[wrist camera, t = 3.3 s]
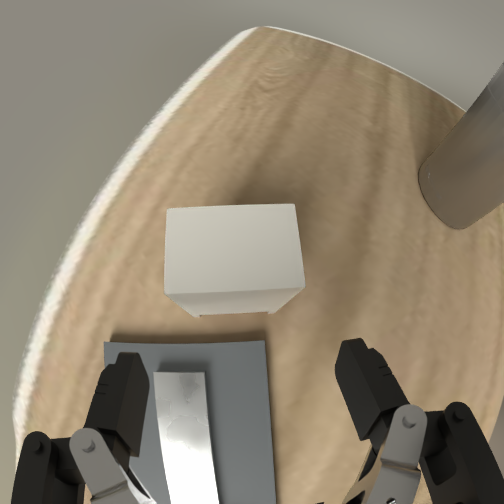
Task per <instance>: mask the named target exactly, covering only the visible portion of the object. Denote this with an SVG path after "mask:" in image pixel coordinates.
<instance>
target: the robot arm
mask: <svg viewBox="0 0 504 504" xmlns="http://www.w3.org/2000/svg"><path fill="white" fill-rule="evenodd" d="M419 183H420V187H421V191H422V193H423V195H424V198H425V199H426V201H427V203H428V205H429V206H430V208H431V209H432V210H433V212H434V213H435V214H436V215H437V216H438V217H439V218H440V219H441V220H442V221H443V222H444V223H446V224H447V225H449V226H451V227H452V228H456V229H465V228H467V227H469V226H470V225H472V224H473V223H475V222H476V221H478V220H479V219H481V218H482V217H484V216H485V215H486V214H488V213H490V212H491V211H492V210H494V209H495V208H497V207H498V206H499V205H501V204H502V203H504V63H502V65H501V66H500V68H499V69H498V71H497V72H496V74H495V75H494V76H493V78H492V79H491V81H490V82H489V83H488V85H487V86H486V87H485V89H484V90H483V91H482V93H481V94H480V96H479V97H478V98H477V99H476V101H475V102H474V103H473V105H472V106H471V107H470V108H469V109H468V111H467V112H466V113H465V115H464V116H463V117H462V118H461V119H460V121H459V122H458V123H457V124H456V126H455V127H454V128H453V129H452V130H451V132H450V133H449V134H448V135H447V136H446V138H445V139H444V140H443V141H442V142H441V144H440V145H439V146H438V147H437V148H436V149H435V151H434V152H433V153H432V154H431V155H430V156H429V157H428V159H427V160H426V161H425V162H424V163H423V164H422V165H421V167H420V170H419ZM335 376H336V379H337V382H338V384H339V387H340V389H341V392H342V394H343V397H344V399H345V402H346V405H347V407H348V410H349V412H350V415H351V417H352V420H353V423H354V425H355V428H356V431H357V433H358V436H359V439H360V441H363V440H366V439H370V441H371V445H370V448H369V450H368V453H367V455H366V458H365V460H364V463H363V465H362V467H361V470H360V472H359V474H358V476H357V479H356V481H355V483H354V485H353V486H352V488H351V489H350V490H349V492H348V493H347V495H346V497H345V498H344V500H343V502H342V504H412V503H413V501H414V498H415V495H416V492H417V488H418V485H419V482H420V478H421V471H420V470H419V469H418V468H417V466H418V462H419V464H420V467H421V470H422V473H423V475H424V478H425V481H426V484H427V487H428V490H429V493H430V496H431V499H432V502H433V504H504V479H503V476H502V474H501V471H500V469H499V467H498V464H497V462H496V460H495V458H494V455H493V453H492V451H491V449H490V447H489V445H488V443H487V441H486V438H485V436H484V434H483V432H482V430H481V428H480V427H479V425H478V423H477V421H476V419H475V417H474V415H473V413H472V411H471V410H470V408H469V407H468V406H467V405H466V404H464V403H462V402H453V403H451V404H449V405H448V406H447V407H446V409H445V410H444V411H430V412H424V411H423V410H422V409H421V408H420V407H418V406H416V405H411V404H410V403H409V402H408V400H407V398H406V396H405V395H404V393H403V391H402V389H401V387H400V385H399V384H398V382H397V380H396V378H395V377H394V375H392V371H391V370H390V368H389V367H388V364H387V363H386V361H385V359H384V357H383V356H382V355H381V354H380V353H379V352H377V351H376V350H375V349H374V348H371V349H368V348H367V346H366V344H365V342H364V341H363V339H362V338H356V339H350V340H344V341H343V342H342V343H341V347H340V350H339V354H338V357H337V361H336V364H335ZM149 389H150V383H149V377H148V374H147V372H146V369H145V367H144V364H143V362H142V359H141V356H140V354H139V353H138V352H120V353H119V354H118V356H117V359H116V362H115V364H108V365H107V367H106V368H105V369H104V370H103V371H102V372H101V375H100V378H99V381H98V386H97V387H96V390H95V394H94V396H93V399H92V402H91V405H90V409H89V412H88V415H87V419H86V422H85V425H84V427H83V428H82V429H79V430H77V431H76V432H75V433H74V434H73V435H72V437H69V438H57V439H50V438H49V437H48V436H47V435H46V434H44V433H42V432H39V431H35V432H32V433H30V434H28V435H27V437H26V438H25V440H24V442H23V446H22V450H21V454H20V458H19V462H18V466H17V471H16V476H15V481H14V487H13V492H12V499H11V504H83V502H84V491H85V484H86V485H87V486H88V488H89V490H90V492H91V494H92V498H91V499H90V501H91V504H157V503H156V502H155V500H154V499H153V498H152V497H151V495H150V494H149V493H148V491H147V490H146V489H145V487H144V486H143V484H142V483H141V482H140V480H139V479H138V477H137V476H136V474H135V473H134V471H133V470H132V468H131V467H130V465H129V461H130V456H131V457H139V454H140V446H141V439H142V432H143V425H144V419H145V413H146V407H147V401H148V395H149ZM317 504H324V502H322V503H317Z"/></svg>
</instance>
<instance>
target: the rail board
mask: <svg viewBox="0 0 504 504" xmlns="http://www.w3.org/2000/svg"><path fill="white" fill-rule="evenodd" d="M120 352H138V353H139V354H140V356H141V359H142V362H143V364H144V367H145V369H146V372H147V374H148V377H149V383H150V389H149V395H148V401H147V407H146V413H145V419H144V425H143V432H142V439H141V446H140V454H139V457H131V456H130V461H129V465H130V467H131V468H132V470H133V471H134V473H135V474H136V476H137V477H138V479H139V480H140V482H141V483H142V484H143V486H144V487H145V489H146V490H147V491H148V493H149V494H150V495H151V497H152V498H153V499H154V500H155V502H156V503H157V504H172V501H171V496H170V492H169V487H168V482H167V477H166V472H165V466H164V460H163V454H162V448H161V441H160V434H159V426H158V418H157V409H156V399H155V388H154V374H153V372H155V371H206V384H207V397H208V408H209V419H210V429H211V438H212V447H213V456H214V464H215V472H216V479H217V486H218V493H219V500H220V504H276V495H275V480H274V465H273V450H272V436H271V422H270V407H269V394H268V380H267V366H266V353H265V340H261V341H246V342H228V343H199V344H146V343H118V342H104V362H105V368H106V367H107V365H108V364H115V362H116V359H117V356H118V354H119V353H120Z"/></svg>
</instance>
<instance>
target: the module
mask: <svg viewBox="0 0 504 504" xmlns="http://www.w3.org/2000/svg"><path fill="white" fill-rule="evenodd" d="M305 287H306V285H305V277H304V269H303V261H302V253H301V245H300V238H299V231H298V224H297V217H296V210H295V204H255V205H226V206H204V207H186V208H170V209H167V219H166V238H165V269H164V294H165V295H166V296H168V297H169V298H170V299H171V300H173V301H174V302H175V303H176V304H178V305H179V306H180V307H181V308H183V309H184V310H185V311H187V312H188V313H189V314H190V315H192V316H193V317H201V315H211V314H234V313H252V312H267V311H268V314H269V313H275V312H276V311H277V310H279V309H280V308H281V307H282V306H284V305H285V304H286V303H287V302H288V301H290V300H291V299H292V298H293V297H294V296H296V295H297V294H298V293H299V292H300V291H301V290H303V289H304V288H305Z"/></svg>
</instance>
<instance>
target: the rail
mask: <svg viewBox="0 0 504 504" xmlns="http://www.w3.org/2000/svg"><path fill="white" fill-rule="evenodd" d="M153 374H154V388H155V399H156V409H157V418H158V426H159V434H160V441H161V448H162V454H163V460H164V466H165V472H166V477H167V482H168V487H169V492H170V496H171V501H172V504H220V500H219V493H218V486H217V479H216V472H215V464H214V456H213V447H212V438H211V429H210V419H209V408H208V397H207V384H206V371H155V372H153Z"/></svg>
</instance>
